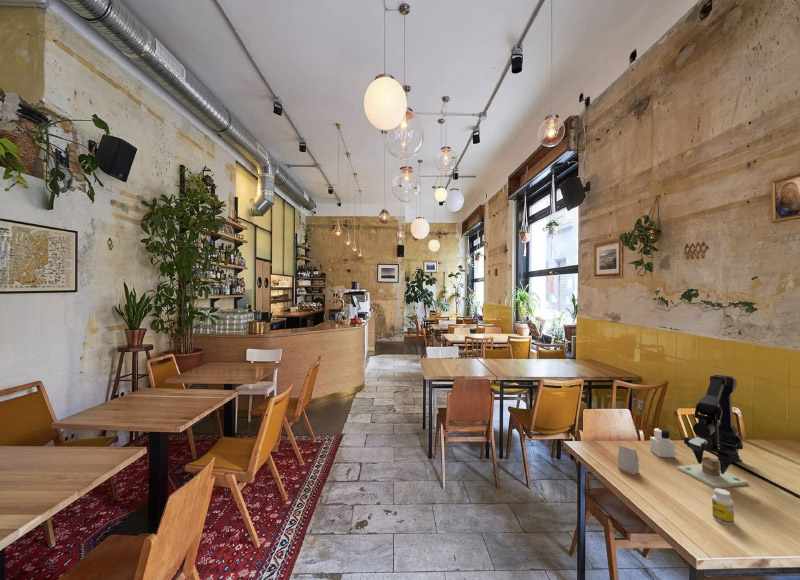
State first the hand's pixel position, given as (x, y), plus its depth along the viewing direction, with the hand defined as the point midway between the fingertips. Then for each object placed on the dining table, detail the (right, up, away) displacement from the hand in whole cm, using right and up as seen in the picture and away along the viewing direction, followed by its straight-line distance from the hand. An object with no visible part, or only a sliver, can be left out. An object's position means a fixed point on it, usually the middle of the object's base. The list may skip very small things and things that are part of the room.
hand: (710, 468), depth 148 cm
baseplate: (0, -3, 0) cm, 3 cm away
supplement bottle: (-22, -3, -29) cm, 36 cm away
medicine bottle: (-4, -4, +21) cm, 22 cm away
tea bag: (-31, -4, +6) cm, 32 cm away
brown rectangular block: (0, -2, 0) cm, 2 cm away
